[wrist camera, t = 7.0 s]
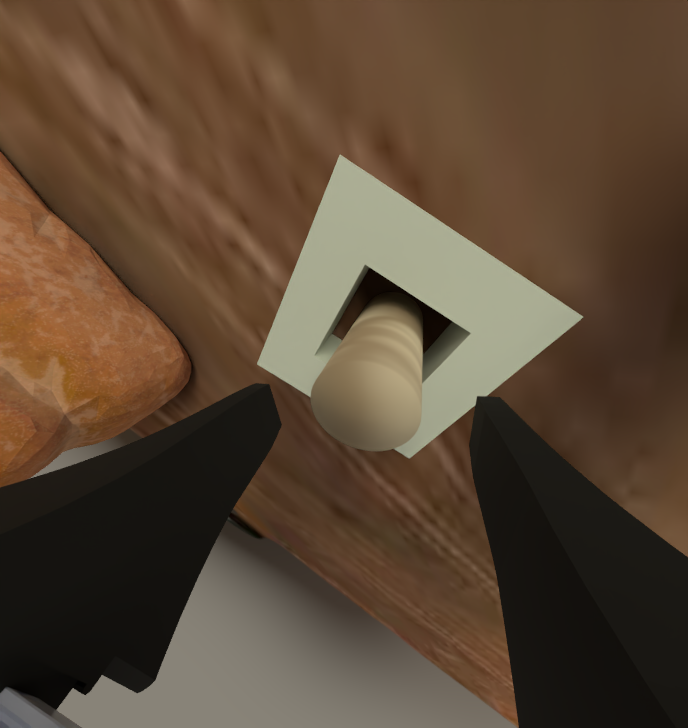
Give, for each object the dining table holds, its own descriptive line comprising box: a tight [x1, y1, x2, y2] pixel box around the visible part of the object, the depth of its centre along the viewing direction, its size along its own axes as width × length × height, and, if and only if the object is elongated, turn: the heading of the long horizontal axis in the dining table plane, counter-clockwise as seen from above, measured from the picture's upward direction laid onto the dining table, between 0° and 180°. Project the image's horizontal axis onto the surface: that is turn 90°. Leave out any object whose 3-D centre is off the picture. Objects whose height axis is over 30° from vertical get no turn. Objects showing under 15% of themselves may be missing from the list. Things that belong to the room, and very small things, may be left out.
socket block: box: [257, 155, 583, 458], centre depth 15 cm, size 12×12×4 cm
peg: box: [311, 292, 423, 451], centre depth 13 cm, size 4×4×9 cm
